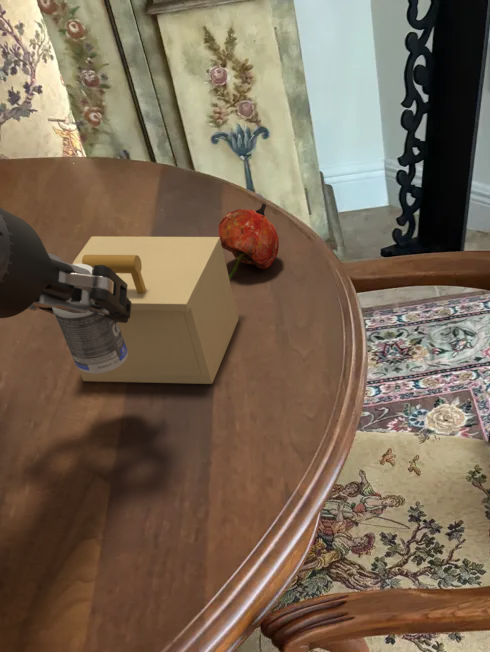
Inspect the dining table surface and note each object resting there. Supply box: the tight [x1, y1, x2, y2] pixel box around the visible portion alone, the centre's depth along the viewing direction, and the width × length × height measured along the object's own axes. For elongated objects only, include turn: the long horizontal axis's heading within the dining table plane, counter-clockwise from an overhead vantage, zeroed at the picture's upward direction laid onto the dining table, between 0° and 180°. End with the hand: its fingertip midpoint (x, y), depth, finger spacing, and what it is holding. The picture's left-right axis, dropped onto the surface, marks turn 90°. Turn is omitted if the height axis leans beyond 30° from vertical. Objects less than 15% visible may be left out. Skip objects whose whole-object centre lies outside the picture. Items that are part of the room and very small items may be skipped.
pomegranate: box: [217, 202, 280, 280], centre depth 93 cm, size 7×7×10 cm
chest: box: [78, 245, 240, 385], centre depth 81 cm, size 12×14×9 cm
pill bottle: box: [52, 263, 128, 374], centre depth 68 cm, size 5×5×8 cm
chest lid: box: [71, 235, 221, 311], centre depth 76 cm, size 13×14×4 cm
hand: (96, 308), depth 69 cm, fingers closed on pill bottle, 4 cm apart
